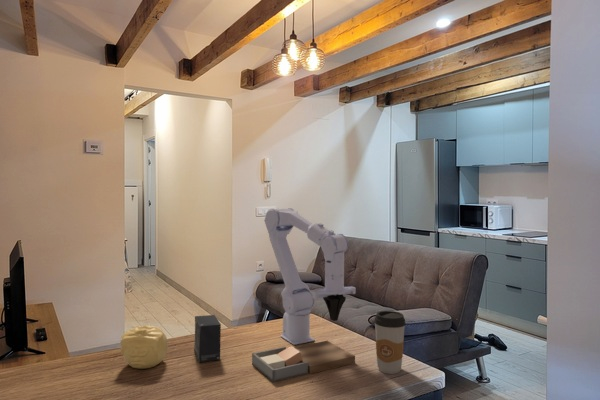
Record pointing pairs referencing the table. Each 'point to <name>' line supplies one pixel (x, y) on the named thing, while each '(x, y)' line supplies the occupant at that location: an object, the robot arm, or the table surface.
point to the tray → (281, 372)
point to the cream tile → (274, 361)
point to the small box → (207, 338)
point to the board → (324, 356)
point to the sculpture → (144, 346)
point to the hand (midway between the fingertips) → (333, 319)
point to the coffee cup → (389, 340)
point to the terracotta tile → (290, 356)
